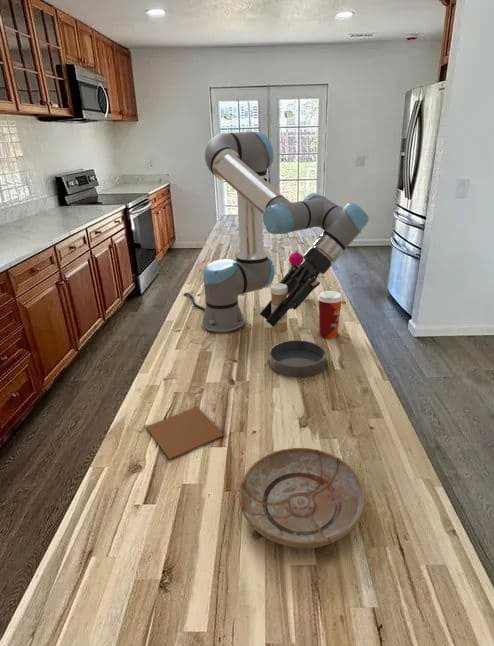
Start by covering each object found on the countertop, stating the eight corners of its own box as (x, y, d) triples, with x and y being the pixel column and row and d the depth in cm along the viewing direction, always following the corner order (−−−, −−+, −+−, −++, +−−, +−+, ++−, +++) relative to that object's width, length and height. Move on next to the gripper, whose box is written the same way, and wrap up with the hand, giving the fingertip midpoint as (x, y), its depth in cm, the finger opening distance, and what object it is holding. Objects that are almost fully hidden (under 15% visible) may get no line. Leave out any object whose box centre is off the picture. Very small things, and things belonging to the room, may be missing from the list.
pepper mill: (307, 293, 189) (308, 248, 180) (299, 299, 183) (299, 252, 174) (292, 291, 192) (292, 246, 183) (284, 296, 187) (284, 250, 178)
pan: (261, 355, 140) (261, 345, 138) (310, 346, 145) (310, 336, 143) (281, 381, 125) (281, 371, 124) (334, 370, 130) (335, 360, 129)
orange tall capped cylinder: (339, 340, 148) (342, 299, 141) (315, 339, 149) (316, 298, 143) (340, 330, 155) (343, 290, 148) (317, 328, 156) (319, 289, 150)
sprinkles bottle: (286, 326, 125) (286, 282, 119) (288, 333, 121) (288, 288, 115) (270, 327, 125) (270, 283, 119) (271, 334, 121) (271, 288, 115)
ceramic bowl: (244, 464, 95) (243, 446, 93) (352, 465, 94) (354, 447, 92) (235, 561, 74) (233, 541, 72) (374, 563, 73) (377, 542, 71)
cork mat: (146, 428, 107) (146, 426, 107) (197, 408, 114) (197, 406, 114) (169, 460, 97) (169, 458, 97) (224, 436, 104) (223, 434, 104)
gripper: (300, 239, 123) (246, 301, 125) (329, 254, 108) (268, 325, 111) (316, 255, 127) (264, 315, 129) (346, 272, 112) (287, 340, 115)
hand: (266, 320), depth 120 cm, fingers closed on sprinkles bottle, 4 cm apart
